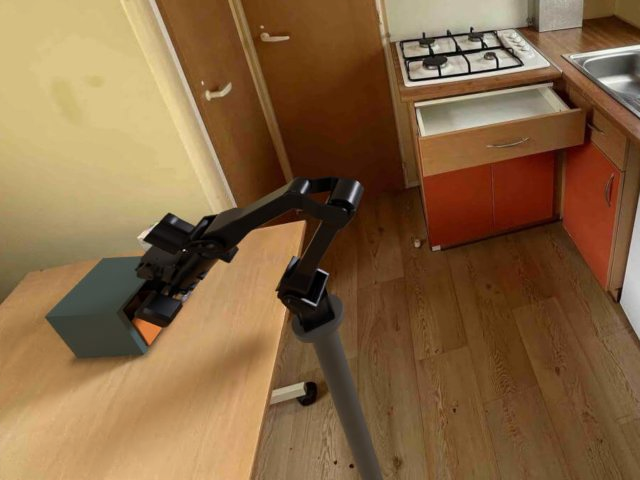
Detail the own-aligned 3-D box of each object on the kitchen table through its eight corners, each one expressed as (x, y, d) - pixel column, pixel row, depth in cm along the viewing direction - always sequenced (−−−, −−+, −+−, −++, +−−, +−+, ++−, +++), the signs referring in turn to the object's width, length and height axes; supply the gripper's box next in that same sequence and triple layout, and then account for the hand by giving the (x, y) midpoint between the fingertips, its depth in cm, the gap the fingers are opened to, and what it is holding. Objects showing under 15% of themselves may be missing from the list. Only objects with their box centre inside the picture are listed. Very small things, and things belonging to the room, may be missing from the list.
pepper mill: (158, 318, 92) (139, 286, 87) (136, 340, 88) (114, 308, 83) (139, 314, 93) (118, 283, 88) (116, 336, 89) (94, 304, 84)
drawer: (187, 300, 97) (174, 277, 94) (155, 345, 88) (140, 321, 84) (130, 303, 97) (115, 280, 93) (92, 349, 87) (74, 325, 84)
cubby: (186, 294, 99) (164, 254, 93) (144, 354, 86) (116, 312, 80) (128, 298, 98) (102, 257, 92) (77, 358, 86) (44, 316, 80)
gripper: (188, 206, 90) (155, 246, 95) (123, 280, 73) (86, 325, 78) (238, 231, 94) (204, 269, 99) (186, 307, 78) (148, 347, 82)
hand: (164, 298), depth 89 cm, fingers closed
